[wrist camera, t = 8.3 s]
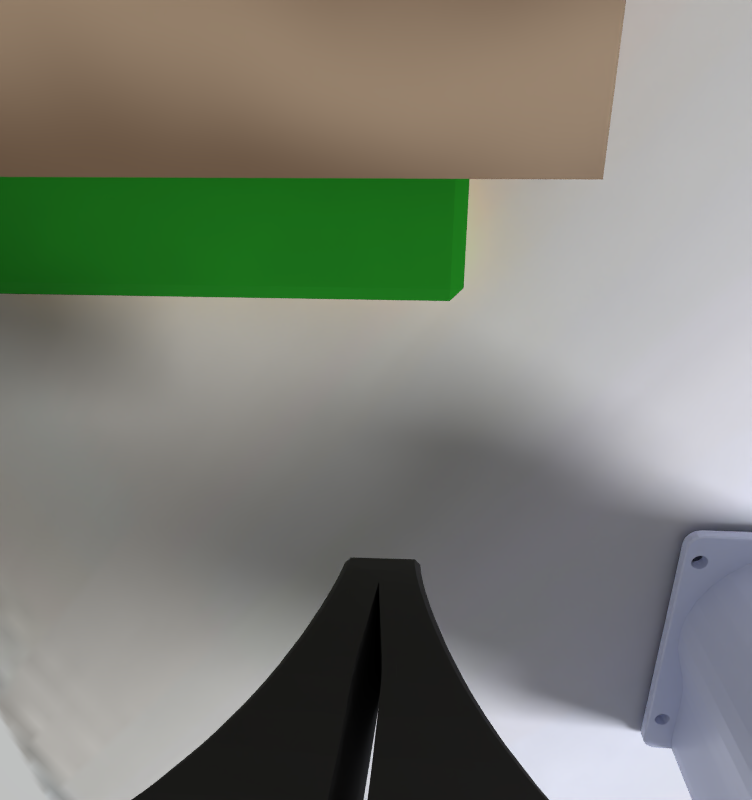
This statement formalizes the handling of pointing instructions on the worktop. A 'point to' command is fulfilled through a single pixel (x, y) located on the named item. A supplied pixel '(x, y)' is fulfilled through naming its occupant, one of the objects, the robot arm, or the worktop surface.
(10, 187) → the dish sponge
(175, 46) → the low shelf
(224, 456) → the worktop surface
